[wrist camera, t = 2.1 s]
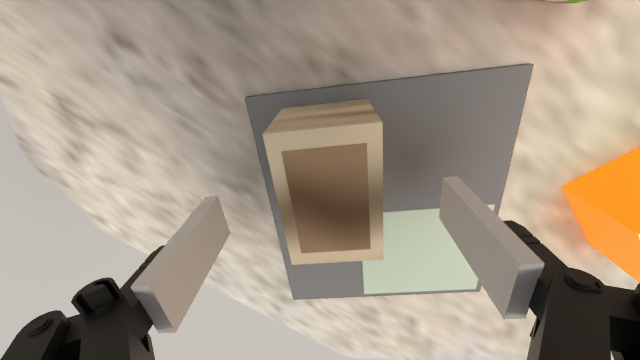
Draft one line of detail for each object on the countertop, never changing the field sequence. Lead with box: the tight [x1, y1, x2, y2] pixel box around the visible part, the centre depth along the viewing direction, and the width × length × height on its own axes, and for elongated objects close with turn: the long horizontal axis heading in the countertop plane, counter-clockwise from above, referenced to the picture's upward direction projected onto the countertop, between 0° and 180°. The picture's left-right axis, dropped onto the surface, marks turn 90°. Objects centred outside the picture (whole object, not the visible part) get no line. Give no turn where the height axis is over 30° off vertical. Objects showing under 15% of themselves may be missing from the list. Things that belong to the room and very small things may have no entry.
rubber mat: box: [245, 64, 534, 300], centre depth 22 cm, size 21×19×1 cm
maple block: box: [262, 99, 384, 265], centre depth 18 cm, size 9×6×6 cm, turn 7°
